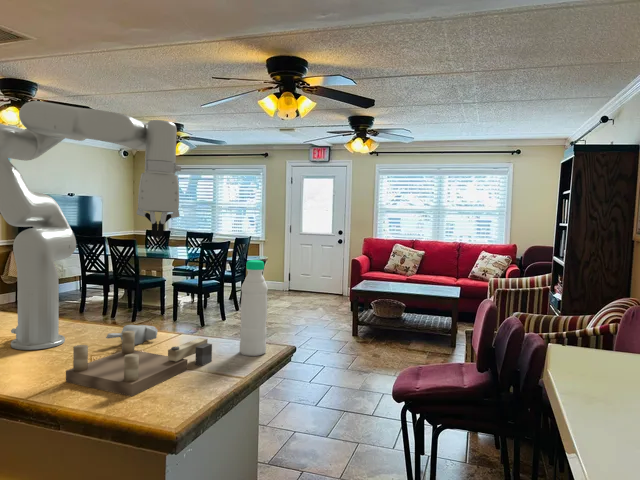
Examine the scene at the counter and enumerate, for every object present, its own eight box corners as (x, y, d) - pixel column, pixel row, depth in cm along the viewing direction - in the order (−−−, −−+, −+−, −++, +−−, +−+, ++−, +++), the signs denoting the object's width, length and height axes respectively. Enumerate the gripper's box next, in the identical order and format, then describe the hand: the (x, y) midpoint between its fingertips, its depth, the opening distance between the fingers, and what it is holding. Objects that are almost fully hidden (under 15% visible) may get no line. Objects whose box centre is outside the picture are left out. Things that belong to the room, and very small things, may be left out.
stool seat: (65, 381, 102) (66, 347, 101) (149, 350, 126) (150, 322, 125) (137, 397, 95) (137, 360, 94) (211, 361, 119) (212, 331, 118)
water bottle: (261, 358, 123) (263, 262, 121) (235, 355, 124) (237, 261, 123) (269, 350, 130) (272, 260, 128) (245, 348, 131) (247, 258, 130)
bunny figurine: (166, 324, 139) (132, 330, 124) (164, 342, 138) (130, 349, 124) (139, 321, 141) (103, 326, 127) (137, 338, 141) (101, 345, 127)
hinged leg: (176, 361, 109) (176, 349, 109) (167, 359, 110) (168, 348, 110) (207, 348, 120) (207, 337, 120) (199, 347, 121) (199, 336, 121)
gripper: (188, 172, 130) (185, 238, 131) (129, 167, 124) (127, 236, 125) (190, 170, 122) (187, 240, 124) (128, 165, 117) (126, 238, 118)
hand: (157, 238), depth 124 cm, fingers closed
